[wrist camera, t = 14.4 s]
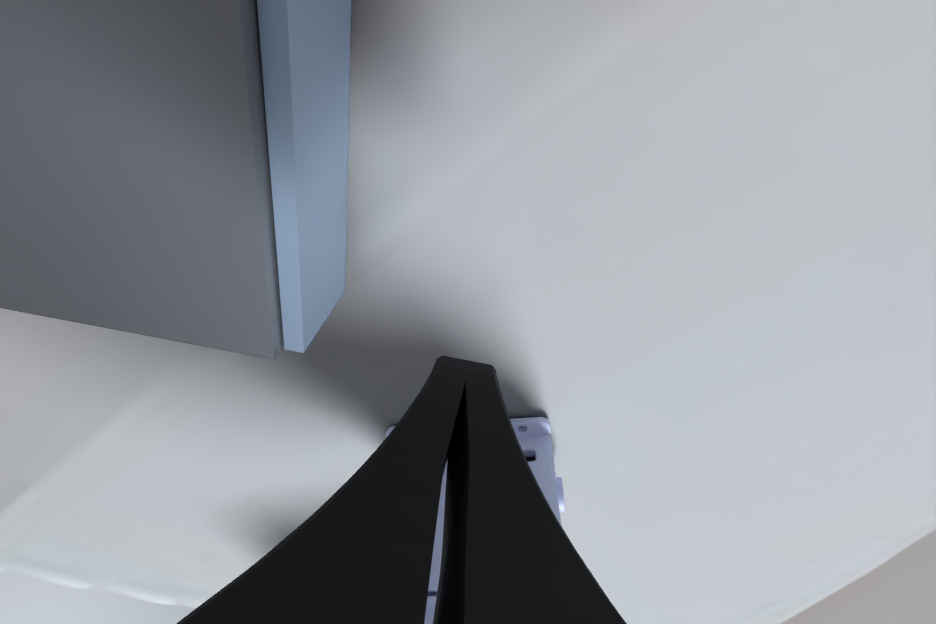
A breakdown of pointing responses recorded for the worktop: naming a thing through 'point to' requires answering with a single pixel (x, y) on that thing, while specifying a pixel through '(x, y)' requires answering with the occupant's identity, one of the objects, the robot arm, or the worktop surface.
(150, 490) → the worktop surface
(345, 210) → the tray
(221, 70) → the box
